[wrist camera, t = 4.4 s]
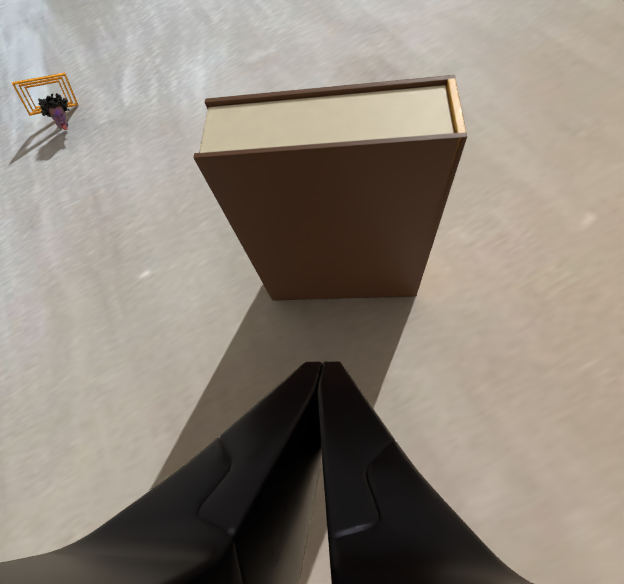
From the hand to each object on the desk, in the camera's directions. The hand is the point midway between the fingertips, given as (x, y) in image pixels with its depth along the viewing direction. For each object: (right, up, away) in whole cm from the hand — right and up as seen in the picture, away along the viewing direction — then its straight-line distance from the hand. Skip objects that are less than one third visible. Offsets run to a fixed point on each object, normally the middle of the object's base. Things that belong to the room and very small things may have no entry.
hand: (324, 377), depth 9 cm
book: (+1, +3, +12) cm, 13 cm away
